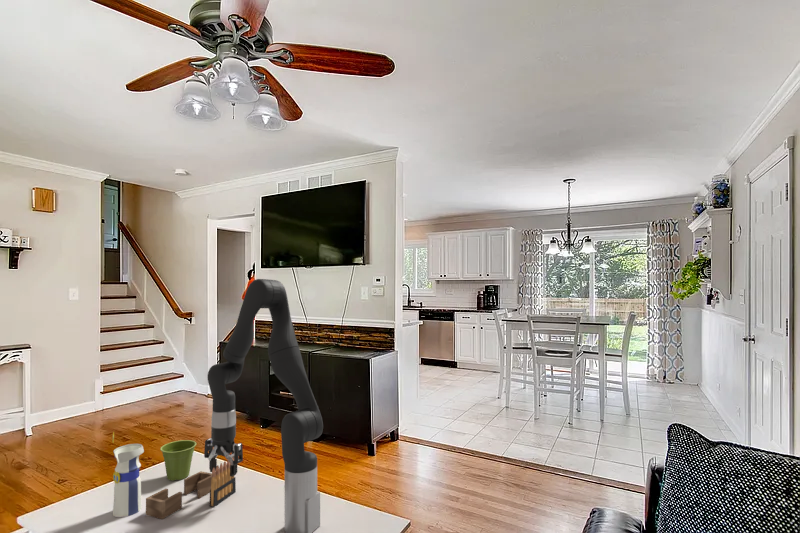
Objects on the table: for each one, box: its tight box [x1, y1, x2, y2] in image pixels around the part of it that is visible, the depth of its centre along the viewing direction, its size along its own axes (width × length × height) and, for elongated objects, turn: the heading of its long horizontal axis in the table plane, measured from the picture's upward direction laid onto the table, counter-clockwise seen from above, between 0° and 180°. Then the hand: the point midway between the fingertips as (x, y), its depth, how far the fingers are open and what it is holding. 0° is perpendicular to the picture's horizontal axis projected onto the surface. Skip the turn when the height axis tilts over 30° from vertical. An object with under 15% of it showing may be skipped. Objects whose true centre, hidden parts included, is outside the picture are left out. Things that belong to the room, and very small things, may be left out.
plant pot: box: [160, 439, 197, 482], centre depth 162 cm, size 12×12×11 cm
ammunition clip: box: [209, 458, 237, 508], centre depth 145 cm, size 11×2×12 cm, turn 163°
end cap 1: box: [145, 488, 183, 520], centre depth 137 cm, size 7×7×5 cm
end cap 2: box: [183, 470, 212, 499], centre depth 150 cm, size 7×7×5 cm
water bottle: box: [111, 431, 145, 518], centre depth 138 cm, size 8×9×25 cm
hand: (223, 473), depth 145 cm, fingers open, 8 cm apart
